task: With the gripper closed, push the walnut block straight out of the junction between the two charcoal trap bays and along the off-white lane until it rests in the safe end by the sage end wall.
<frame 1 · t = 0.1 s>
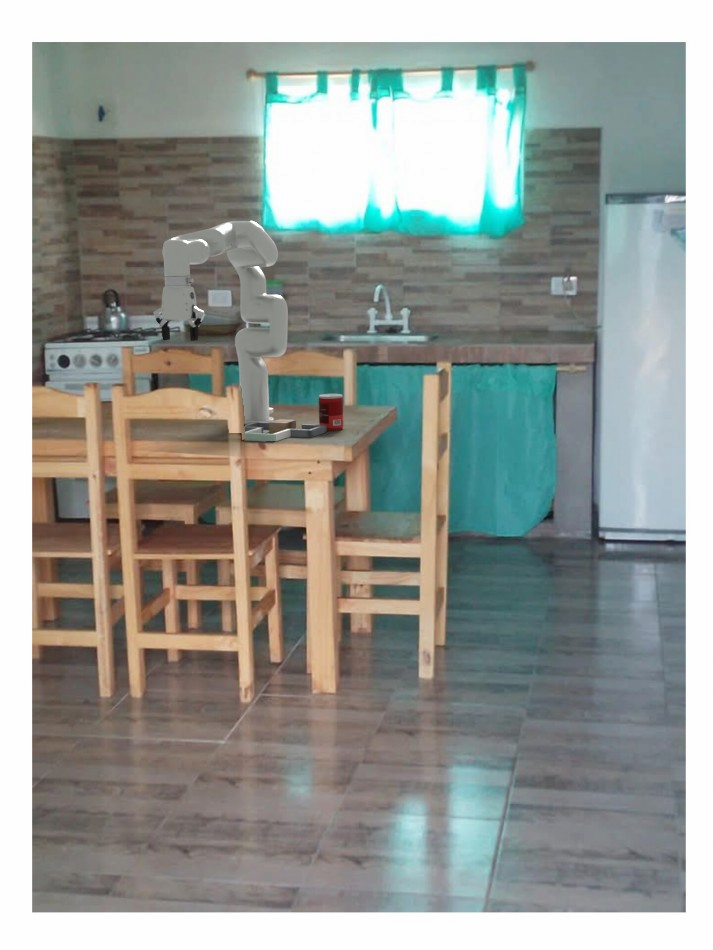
hand: (180, 340, 373), 31 cm above the table, fingers open, 9 cm apart
trap bays: (282, 432, 396), on the table
walnut block: (282, 433, 396), on the table
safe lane: (267, 437, 386), on the table
canned food: (331, 429, 402), on the table
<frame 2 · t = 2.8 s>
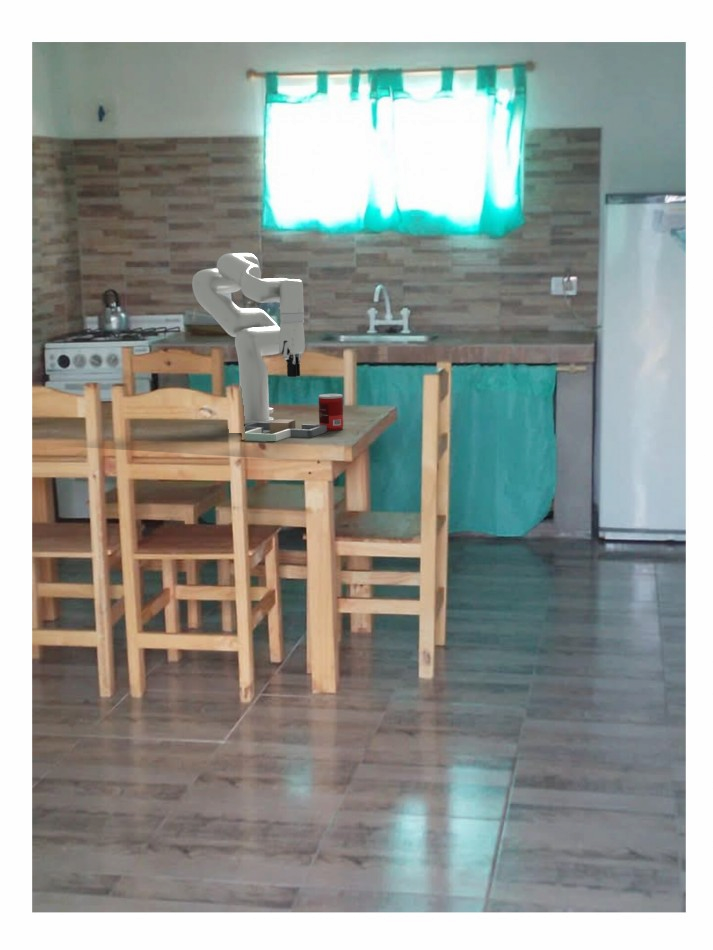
hand: (293, 375, 400), 17 cm above the table, fingers closed
nothing on the table moved.
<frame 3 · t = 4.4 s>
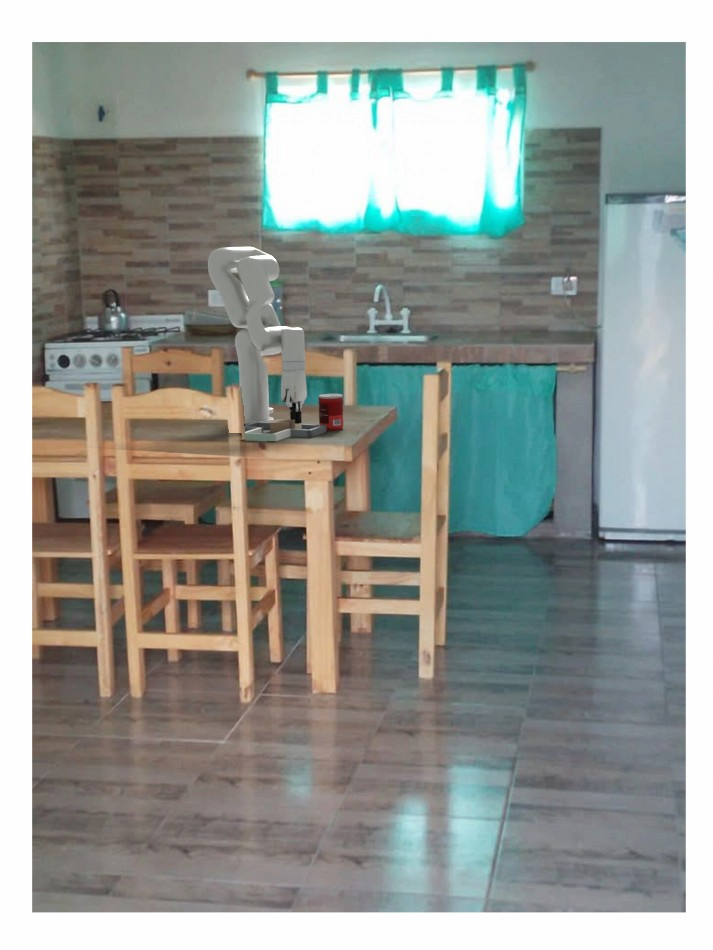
hand: (296, 423, 403), 2 cm above the table, fingers closed
nothing on the table moved.
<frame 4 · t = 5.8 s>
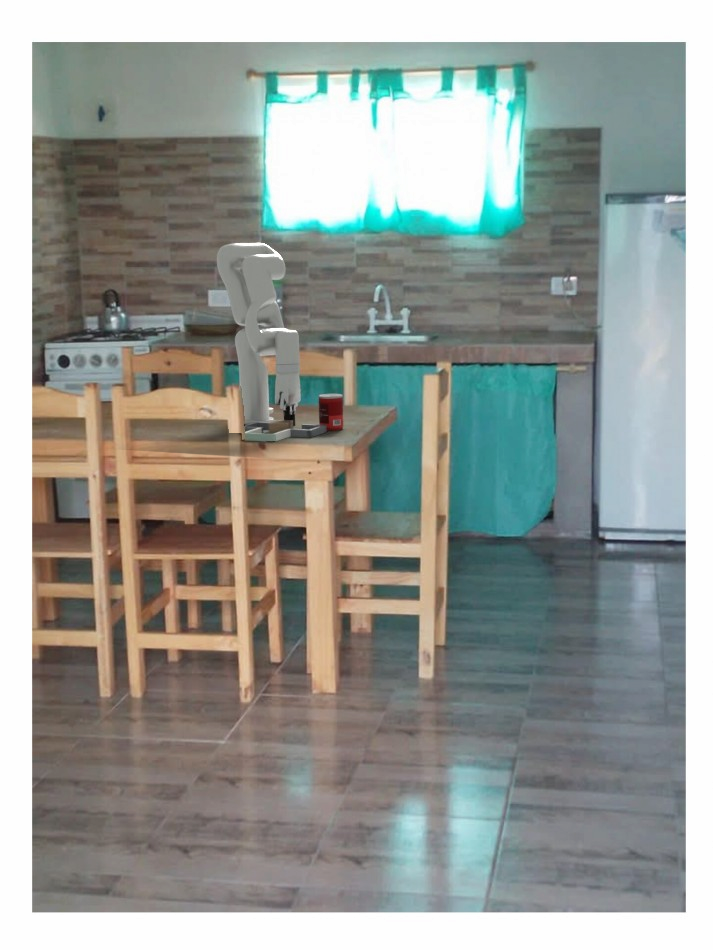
hand: (289, 426, 400), 1 cm above the table, fingers closed
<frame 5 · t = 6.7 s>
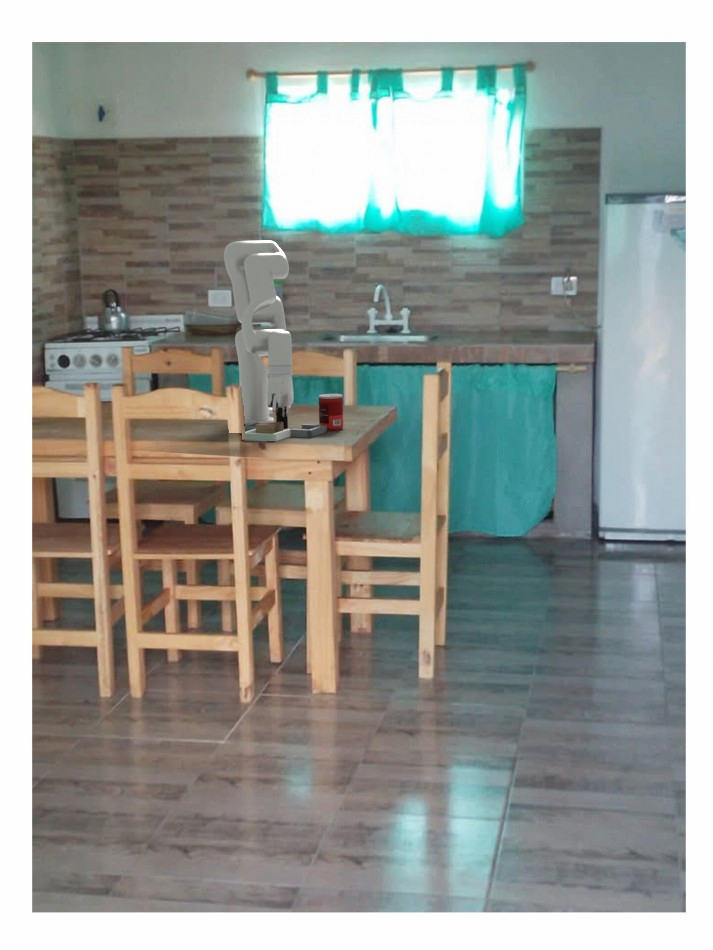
hand: (282, 428, 395), 1 cm above the table, fingers closed
walnut block: (270, 435, 391), on the table, touching gripper
everything else where it was.
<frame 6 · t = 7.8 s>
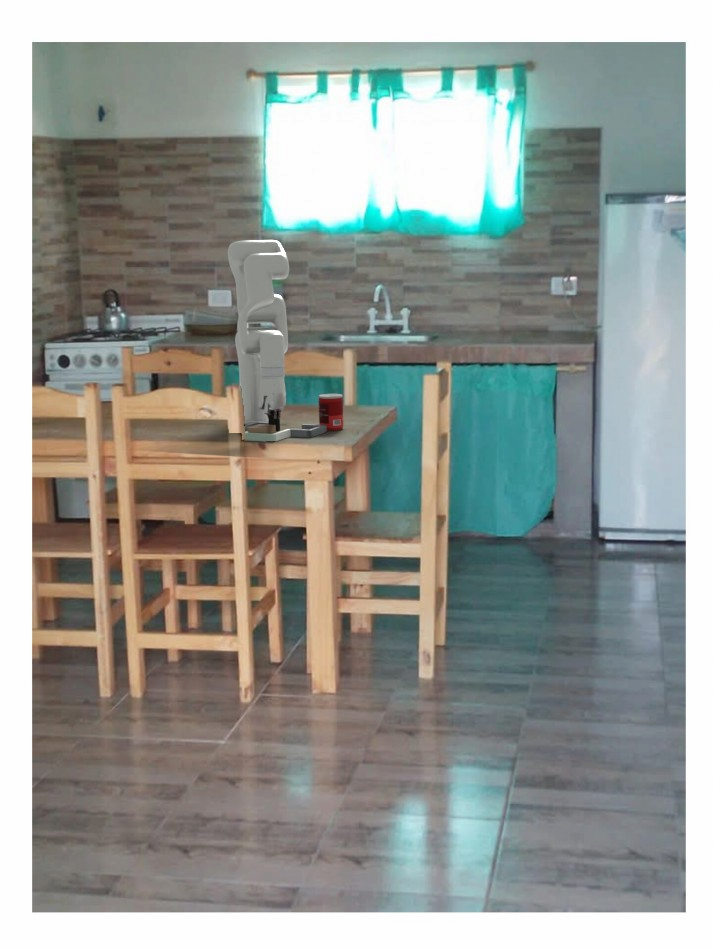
hand: (274, 431, 390), 1 cm above the table, fingers closed
walnut block: (262, 439, 386), on the table, touching gripper
everything else where it was.
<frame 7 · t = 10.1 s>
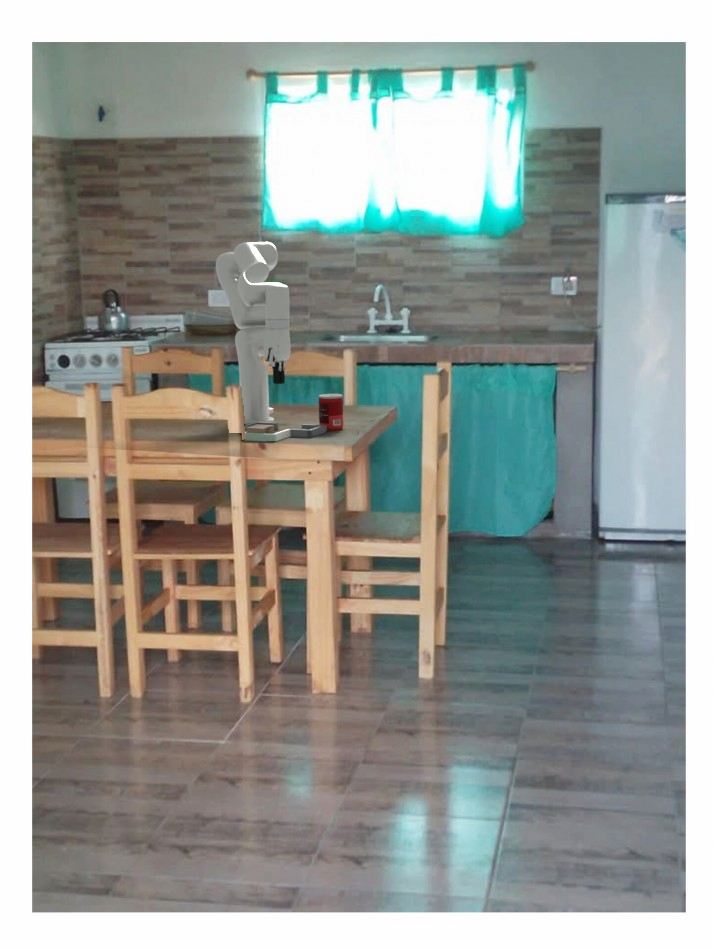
hand: (278, 383, 392), 16 cm above the table, fingers closed
walnut block: (260, 439, 385), on the table
everything else where it was.
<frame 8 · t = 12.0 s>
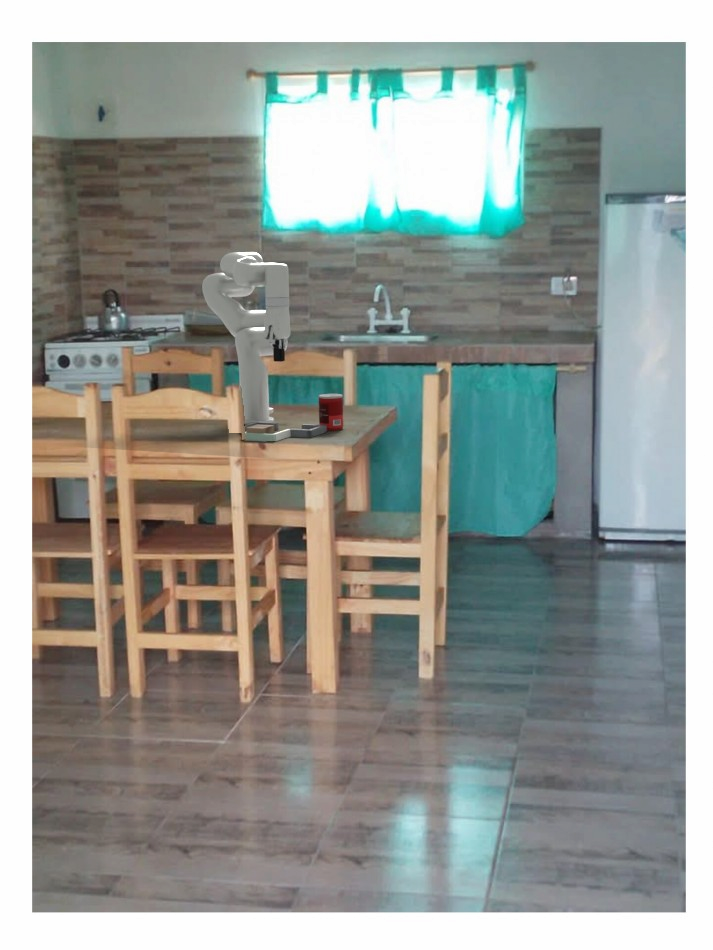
hand: (279, 361, 398), 22 cm above the table, fingers closed
nothing on the table moved.
at the end: walnut block inside the target area (1.5 cm from its centre), on the table; walnut block tilted 0°; walnut block moved 12.2 cm from its start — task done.
